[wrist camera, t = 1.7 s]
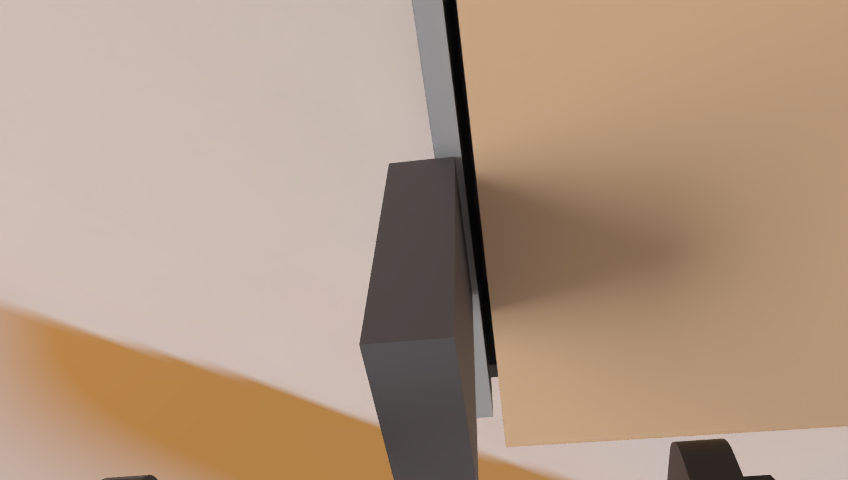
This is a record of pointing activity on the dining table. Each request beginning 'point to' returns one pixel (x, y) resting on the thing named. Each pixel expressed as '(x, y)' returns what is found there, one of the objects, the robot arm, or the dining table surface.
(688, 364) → the mailer sleeve
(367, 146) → the dining table surface
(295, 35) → the dining table surface
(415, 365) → the tray
